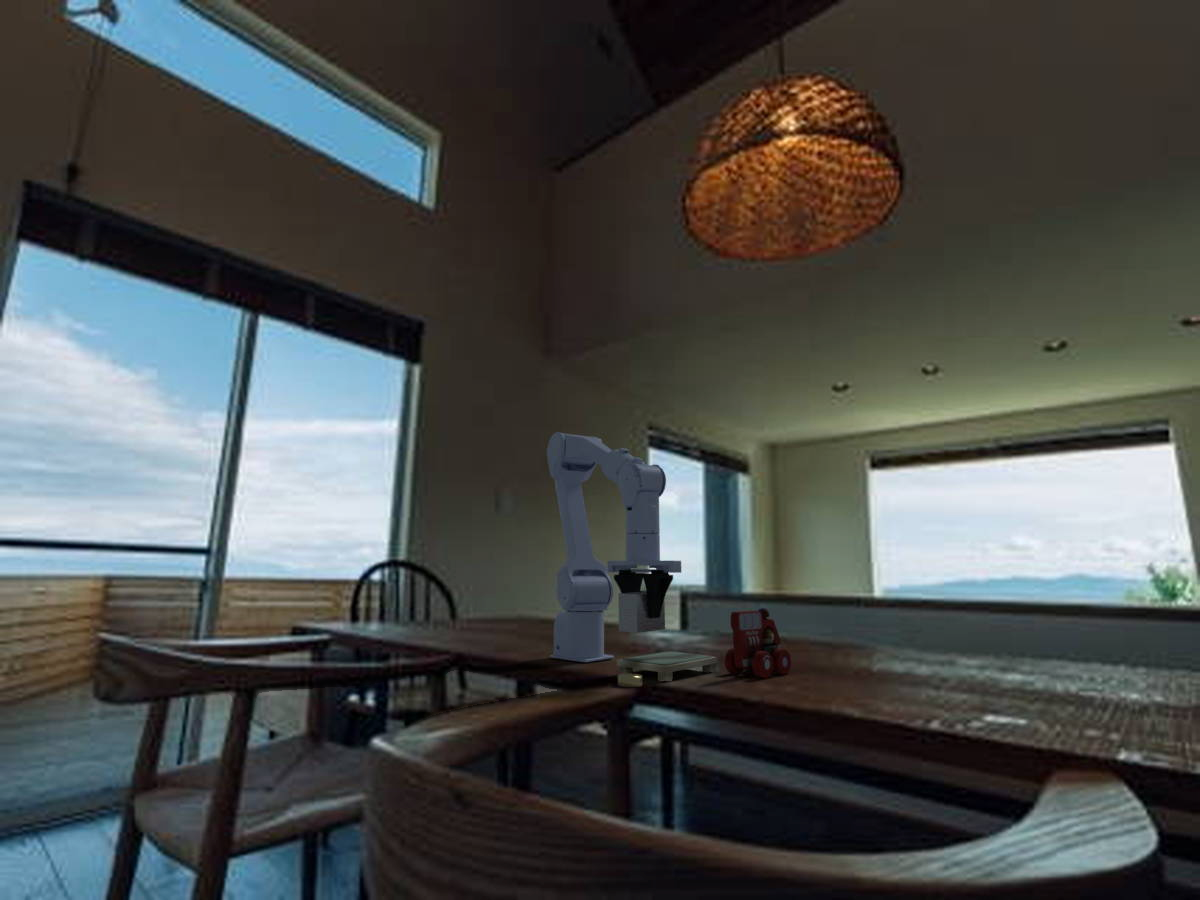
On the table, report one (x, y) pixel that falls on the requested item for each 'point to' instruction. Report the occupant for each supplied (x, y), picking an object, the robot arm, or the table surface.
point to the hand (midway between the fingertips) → (643, 617)
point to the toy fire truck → (756, 645)
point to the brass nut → (630, 680)
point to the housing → (638, 613)
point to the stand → (667, 663)
